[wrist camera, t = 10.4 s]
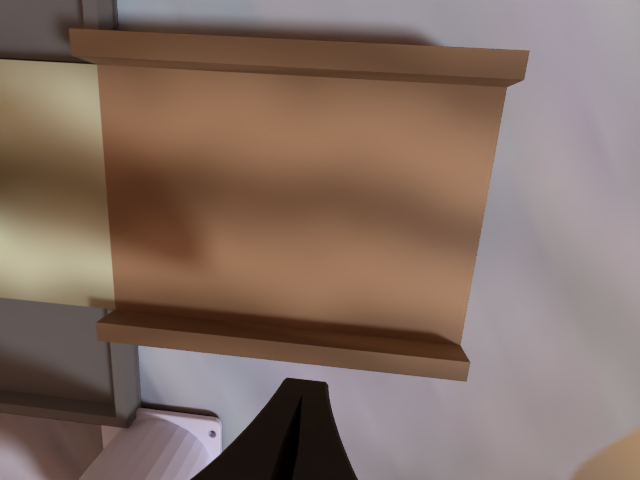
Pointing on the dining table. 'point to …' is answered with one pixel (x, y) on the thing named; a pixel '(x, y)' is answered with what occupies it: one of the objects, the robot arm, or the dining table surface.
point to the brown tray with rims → (255, 193)
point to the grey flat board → (52, 318)
